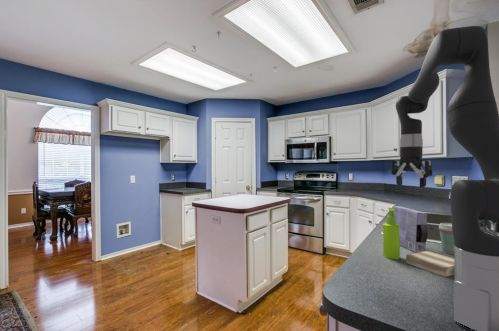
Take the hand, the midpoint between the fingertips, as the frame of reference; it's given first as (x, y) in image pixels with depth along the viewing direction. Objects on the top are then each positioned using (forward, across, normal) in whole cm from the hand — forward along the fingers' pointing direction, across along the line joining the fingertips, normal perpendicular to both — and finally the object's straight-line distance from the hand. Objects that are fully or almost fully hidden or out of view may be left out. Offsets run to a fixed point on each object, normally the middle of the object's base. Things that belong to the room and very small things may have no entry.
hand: (410, 186), depth 96 cm
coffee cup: (+30, +4, +23) cm, 38 cm away
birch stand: (+29, +9, -1) cm, 30 cm away
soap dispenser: (+29, -4, -6) cm, 30 cm away
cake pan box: (+30, -9, +14) cm, 34 cm away
